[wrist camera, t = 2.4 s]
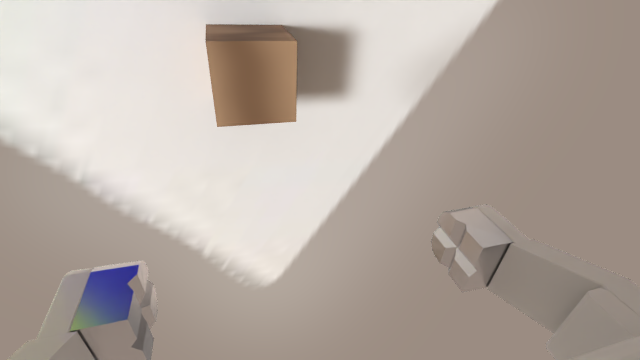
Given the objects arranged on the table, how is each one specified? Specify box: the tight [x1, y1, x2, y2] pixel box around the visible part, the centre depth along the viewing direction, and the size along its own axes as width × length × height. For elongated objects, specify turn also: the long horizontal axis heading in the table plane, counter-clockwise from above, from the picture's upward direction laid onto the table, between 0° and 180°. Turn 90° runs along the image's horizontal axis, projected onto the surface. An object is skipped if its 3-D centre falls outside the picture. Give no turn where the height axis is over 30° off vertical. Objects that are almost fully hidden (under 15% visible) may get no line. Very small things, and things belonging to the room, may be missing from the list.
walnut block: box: [206, 25, 297, 127], centre depth 22 cm, size 5×5×5 cm
